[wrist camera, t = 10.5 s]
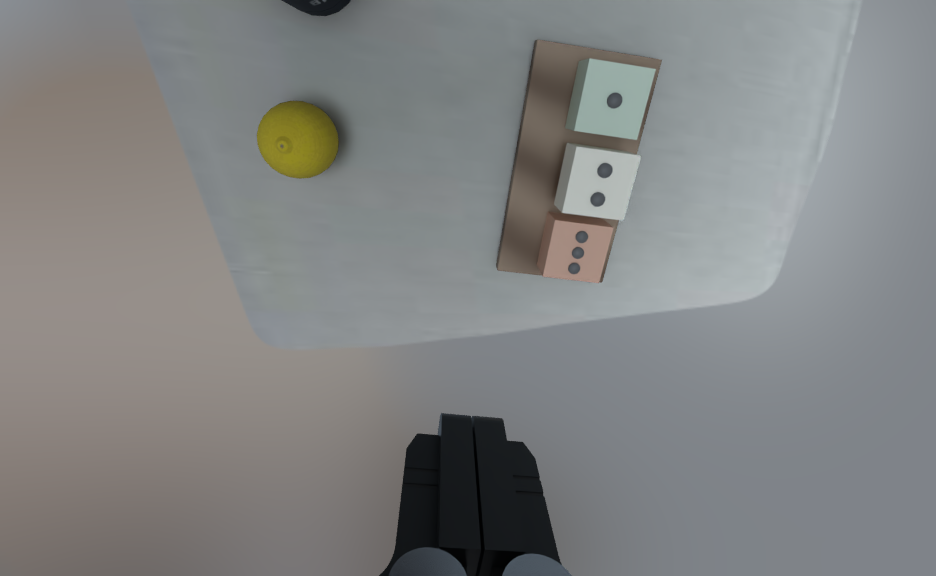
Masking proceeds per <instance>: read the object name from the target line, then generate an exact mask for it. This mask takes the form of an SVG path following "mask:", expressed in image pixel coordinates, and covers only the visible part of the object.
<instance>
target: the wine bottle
mask: <svg viewBox="0 0 936 576" xmlns="http://www.w3.org/2000/svg"><path fill="white" fill-rule="evenodd" d="M282 1H284V2H286V3H288V4H289V5H291V6H293V7H295V8H296V9H298V10H300V11H303V12H305V13H308V14H310V15H317V16H327V15H330V14H333V13H336V12H339V11H340V10H341V9H342V8H343V7H345V6H346V5H347V4H348V3H349V2H350V0H282Z"/></svg>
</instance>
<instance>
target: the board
mask: <svg viewBox="0 0 936 576" xmlns="http://www.w3.org/2000/svg"><path fill="white" fill-rule="evenodd" d="M589 58H591V59H597V60H603V61H609V62H615V63H621V64H628V65H634V66H640V67H646V68H652V69H656V71H655V74H654V78H653V82H652V86H651V89H650V93H649V97H648V101H647V104H646V108H645V112H644V116H643V119H642V123H641V127H640V131H639V134H638V138H637V140H633V139H627V138H620V137H613V136H606V135H599V134H592V133H586V132H579V131H573V130H570V129H566V128H565V126H566V121H567V116H568V111H569V106H570V101H571V97H572V92H573V87H574V82H575V77H576V72H577V68H578V63H579V61H581V60H585V59H589ZM661 62H662V60H660V59H653V58H647V57H641V56H635V55H629V54H623V53H617V52H611V51H605V50H598V49H592V48H586V47H580V46H574V45H568V44H562V43H556V42H550V41H543V40H536V41H535V43H534V49H533V55H532V61H531V66H530V72H529V78H528V84H527V90H526V96H525V101H524V107H523V113H522V119H521V125H520V130H519V136H518V142H517V148H516V154H515V159H514V165H513V171H512V177H511V183H510V189H509V194H508V200H507V206H506V212H505V218H504V223H503V229H502V235H501V241H500V247H499V252H498V258H497V264H496V267H497V270H499V271H507V272H516V273H524V274H533V275H542V274H541V272H540V270H539V268H538V266H537V261H538V256H539V251H540V246H541V241H542V237H543V232H544V227H545V222H546V217H547V213H548V212H555V213H562V212H561V211H560V210H559V209H558V208H557V207H556V206H555V205H554V201H555V197H556V192H557V187H558V183H559V178H560V173H561V168H562V164H563V159H564V154H565V149H566V145H567V143H573V144H580V145H587V146H594V147H601V148H608V149H615V150H622V151H628V152H631V153H634V154H637V151H638V147H639V143H640V140H641V136H642V132H643V129H644V125H645V121H646V117H647V114H648V110H649V106H650V103H651V99H652V95H653V91H654V88H655V84H656V80H657V76H658V73H659V69H660V65H661ZM563 214H567V213H563ZM571 215H575V214H571ZM579 216H583V215H579ZM586 217H591V216H586ZM594 218H598V217H594ZM602 219H604V220H605V221H606V222H607V223H609V224H610V225H611V226H612V227H614V229H613V232H612V236H611V240H610V244H609V247H608V251H607V255H606V259H605V262H604V266H603V270H602V274H601V277H600V281H599V282H602V281H603V277H604V273H605V270H606V266H607V262H608V259H609V255H610V251H611V247H612V244H613V240H614V236H615V233H616V229H617V225H618V221H619V220H614V219H606V218H602Z"/></svg>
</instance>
